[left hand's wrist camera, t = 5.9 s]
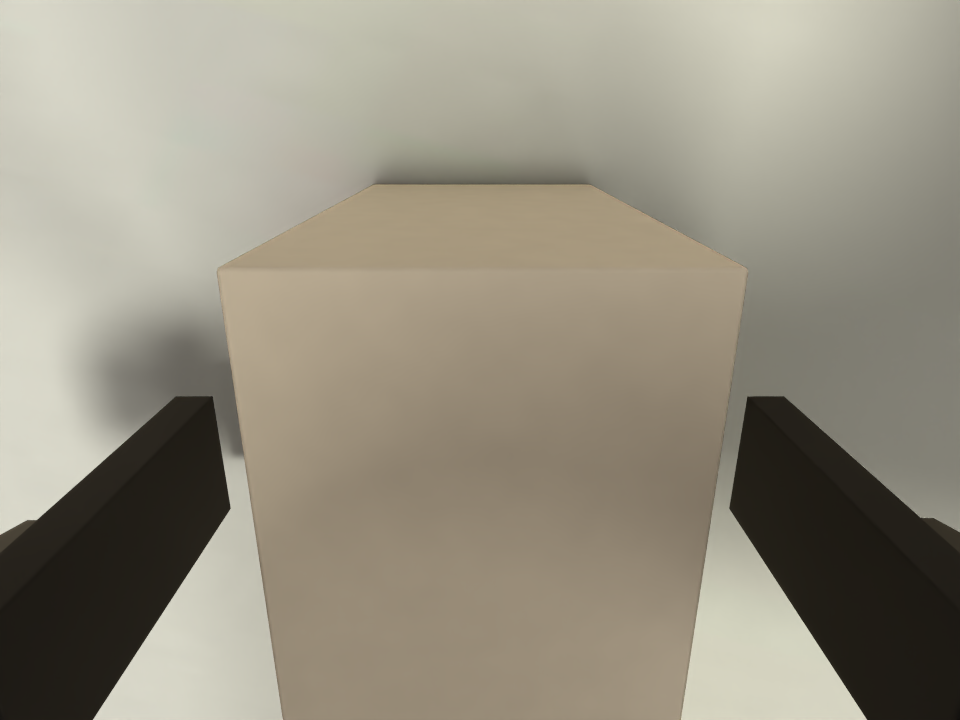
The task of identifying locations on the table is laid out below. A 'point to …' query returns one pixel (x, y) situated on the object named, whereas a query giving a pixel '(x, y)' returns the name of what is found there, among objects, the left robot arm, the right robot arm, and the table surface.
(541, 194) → the post
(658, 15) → the table surface
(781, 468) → the left robot arm
